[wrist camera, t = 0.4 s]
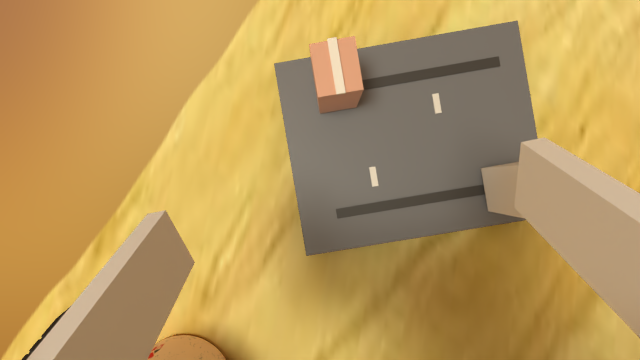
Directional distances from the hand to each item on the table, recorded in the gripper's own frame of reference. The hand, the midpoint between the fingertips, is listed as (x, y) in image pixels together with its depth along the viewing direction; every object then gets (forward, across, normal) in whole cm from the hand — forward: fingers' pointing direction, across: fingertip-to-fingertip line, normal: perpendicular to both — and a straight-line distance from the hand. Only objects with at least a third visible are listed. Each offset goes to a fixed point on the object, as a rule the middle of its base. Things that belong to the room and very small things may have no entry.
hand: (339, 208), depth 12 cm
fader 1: (+16, -1, -1) cm, 16 cm away
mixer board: (+16, -6, +5) cm, 17 cm away
